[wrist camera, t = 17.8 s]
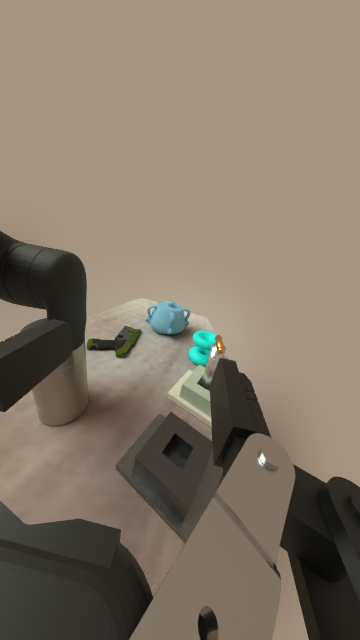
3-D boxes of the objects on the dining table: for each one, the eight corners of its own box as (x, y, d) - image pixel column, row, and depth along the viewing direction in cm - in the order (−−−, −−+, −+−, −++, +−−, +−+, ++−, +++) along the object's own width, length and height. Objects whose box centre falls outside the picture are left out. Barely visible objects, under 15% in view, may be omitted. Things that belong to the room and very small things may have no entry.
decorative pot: (166, 318, 89) (170, 293, 83) (190, 332, 80) (196, 305, 74) (141, 326, 77) (144, 297, 71) (166, 342, 68) (171, 312, 63)
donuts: (189, 336, 56) (199, 326, 64) (183, 360, 60) (193, 347, 69) (218, 348, 53) (224, 335, 61) (210, 372, 57) (216, 357, 66)
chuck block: (116, 468, 30) (116, 449, 27) (158, 418, 39) (162, 400, 37) (195, 554, 23) (206, 539, 21) (222, 468, 33) (232, 450, 30)
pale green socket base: (166, 396, 45) (170, 380, 43) (188, 373, 55) (192, 358, 52) (222, 435, 38) (231, 418, 36) (236, 400, 48) (243, 385, 46)
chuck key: (210, 407, 43) (229, 350, 35) (198, 404, 43) (214, 348, 35) (209, 386, 49) (225, 335, 41) (198, 384, 49) (212, 332, 41)
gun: (108, 326, 72) (142, 333, 73) (81, 351, 55) (126, 361, 55) (108, 320, 71) (143, 328, 72) (81, 344, 54) (127, 354, 54)
